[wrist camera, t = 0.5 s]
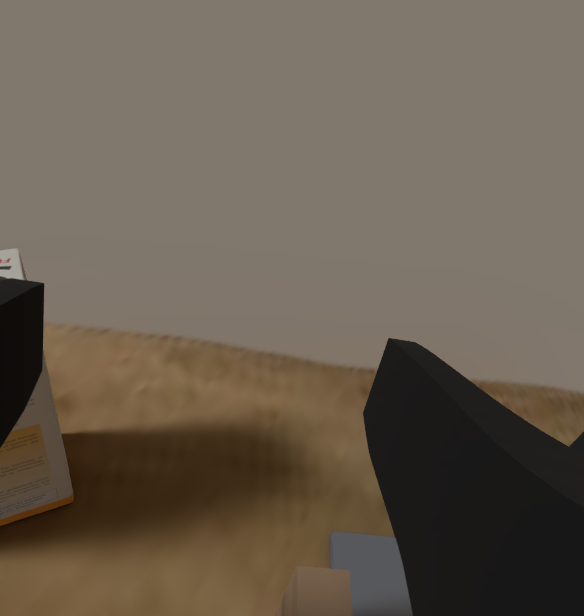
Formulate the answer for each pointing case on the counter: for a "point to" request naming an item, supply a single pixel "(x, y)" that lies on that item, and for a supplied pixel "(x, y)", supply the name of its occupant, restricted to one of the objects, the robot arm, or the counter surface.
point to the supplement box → (32, 443)
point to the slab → (317, 593)
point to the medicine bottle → (578, 444)
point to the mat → (372, 573)
